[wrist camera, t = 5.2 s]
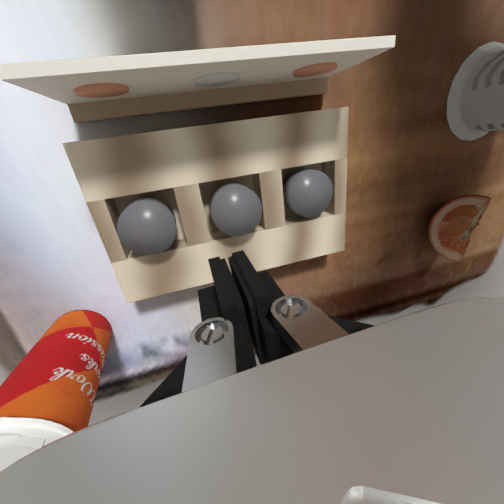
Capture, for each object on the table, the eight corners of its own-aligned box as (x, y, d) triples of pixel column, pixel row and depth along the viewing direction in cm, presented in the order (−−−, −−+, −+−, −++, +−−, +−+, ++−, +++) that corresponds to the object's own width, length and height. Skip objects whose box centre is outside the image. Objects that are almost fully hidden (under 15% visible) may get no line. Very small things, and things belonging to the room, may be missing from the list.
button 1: (169, 192, 22) (167, 198, 20) (181, 239, 24) (181, 248, 22) (115, 201, 21) (108, 208, 19) (132, 249, 23) (127, 260, 21)
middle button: (251, 178, 23) (259, 181, 21) (257, 223, 25) (264, 230, 23) (204, 186, 23) (207, 191, 20) (213, 232, 24) (217, 241, 22)
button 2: (319, 165, 26) (333, 166, 23) (320, 207, 27) (332, 212, 25) (279, 172, 25) (288, 174, 23) (282, 214, 27) (291, 221, 24)
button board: (327, 111, 25) (348, 106, 22) (328, 239, 31) (344, 250, 28) (79, 143, 21) (62, 143, 18) (133, 284, 27) (127, 303, 24)
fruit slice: (442, 249, 37) (477, 264, 33) (406, 248, 35) (439, 263, 31) (467, 192, 34) (510, 199, 30) (429, 187, 32) (469, 194, 28)
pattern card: (322, 56, 23) (397, 10, 15) (323, 94, 25) (392, 69, 17) (62, 79, 19) (-21, 32, 11) (78, 122, 21) (14, 108, 13)
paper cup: (128, 351, 30) (91, 498, 17) (53, 364, 28) (-48, 540, 16) (114, 294, 27) (57, 424, 14) (29, 305, 25) (-121, 464, 13)
